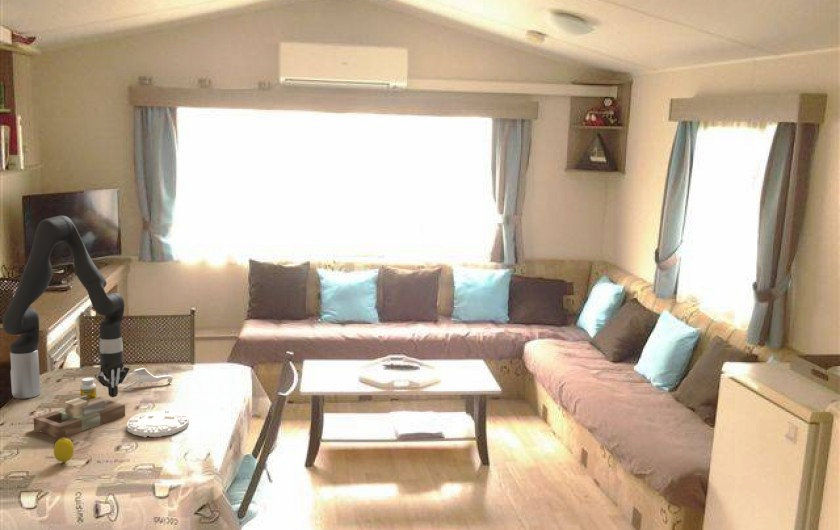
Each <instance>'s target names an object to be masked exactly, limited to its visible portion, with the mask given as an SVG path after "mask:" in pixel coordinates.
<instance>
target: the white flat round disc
mask: <svg viewBox="0 0 840 530" xmlns="http://www.w3.org/2000/svg"><path fill="white" fill-rule="evenodd" d="M189 419H190V418H189V417H188V415H187V414H185V413H182V412H179V411H174V410H169V409H164V410H159V411H158V410H156V411H150V412H145V413H144V412H143V413H140V412H139V413H137V414H135V415H134V416H131V417H130V418H129V420H127V423H126V429H127V432H128V433H130V434H133V435H134V436H140V437H142V438H145V439H146V438H147V436H149V437H153V438H162V437H163V436H171V435H172V436H173V435H175V434H177V433H179V432H180V431H181V432H182V431H183V430H186V428H187V427H188V425H189V424H190V423H189V422H190V420H189Z"/></svg>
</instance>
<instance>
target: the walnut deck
mask: <svg viewBox="0 0 840 530" xmlns="http://www.w3.org/2000/svg"><path fill="white" fill-rule="evenodd" d="M77 398H79V399H83V400H86V401H87V402H88V405H87V406H84V407H82V414H81V415H78V416H75V417H74V416H71V415H68V414H65V407H64V408H60V409H57V410H54V411H51V412H47V413H44V414H42V415H39V416H35V417H33V430H34V429H35V430H34V431H37V430H38V431H37V432H40V431H41V432H40V433H42V432H43V434H45V433H46V435H48V436H51V437H53V438H56V439H58V440H59V439H61V438H63V437H64V438H66V437H70V436H72V435H75V434H79V433H80V432H81V433H82V432H84V431H87V430H89V428H90V429H92V428H95V427H97V426H100V425H103V424H106V423H109V422H112V421H114V420H117V419H120V418H123V417H126V406H125V404H124V403H123V404H122V403H120V402H118V401H117V402H116V401H113V400H110V399H107V398H104V397H99V396H97V398H95V399H92V400H88V396H87V395H85V396H81V395H80V396H78V397H75V398H72V399H68V400H65V402H67V401H71V400H74V399H77ZM65 402H64V403H65ZM86 429H87V430H86ZM83 430H84V431H83Z"/></svg>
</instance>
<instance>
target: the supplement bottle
mask: <svg viewBox="0 0 840 530" xmlns="http://www.w3.org/2000/svg"><path fill="white" fill-rule="evenodd" d="M94 378H95V377H94ZM94 378H93V377H84V378H82V379H81V383H82V384H81V385H80V387H79V388H80V389H79V390H80V391H79V392H80V397H81V396H85V395H87V396H88V400H92V399H95V398H98V396H97V395H98V393H97V385H96V383H95V382H94V381H95V379H94Z"/></svg>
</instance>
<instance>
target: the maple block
mask: <svg viewBox="0 0 840 530" xmlns="http://www.w3.org/2000/svg"><path fill="white" fill-rule="evenodd" d="M76 398H77V399H75V398H73V399H74V400H72V399H70V400H71V401H69V400H66V401H67V402H64V408H65V414H68V415H71V416H74V417H75V416H78V415H81V414H82V407H84V406H87V405H88V402H87V401H86V400H83V399H79V398H78V397H76Z"/></svg>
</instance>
